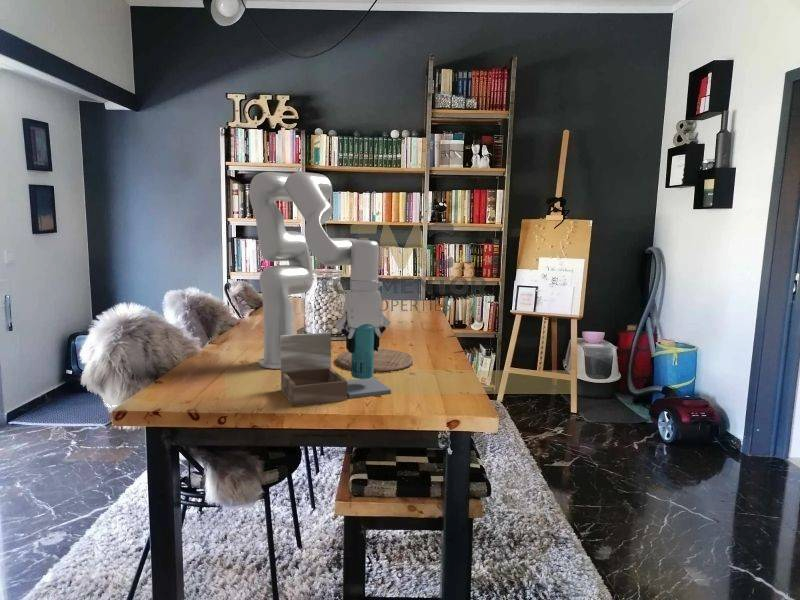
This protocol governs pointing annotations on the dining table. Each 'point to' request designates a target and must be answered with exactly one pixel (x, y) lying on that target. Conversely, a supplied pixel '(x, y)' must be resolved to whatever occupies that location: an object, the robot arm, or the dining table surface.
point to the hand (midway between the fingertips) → (362, 350)
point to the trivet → (381, 360)
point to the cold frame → (310, 370)
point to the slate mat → (366, 388)
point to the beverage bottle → (363, 352)
